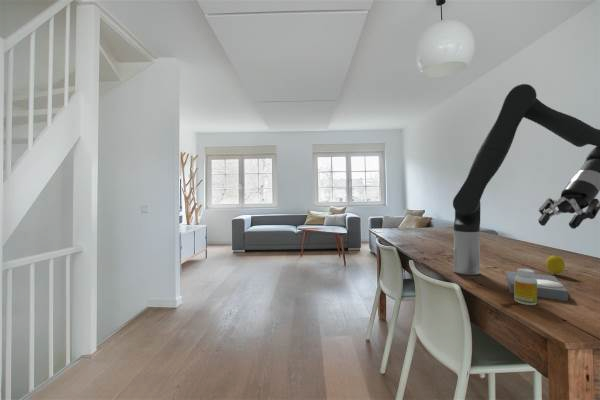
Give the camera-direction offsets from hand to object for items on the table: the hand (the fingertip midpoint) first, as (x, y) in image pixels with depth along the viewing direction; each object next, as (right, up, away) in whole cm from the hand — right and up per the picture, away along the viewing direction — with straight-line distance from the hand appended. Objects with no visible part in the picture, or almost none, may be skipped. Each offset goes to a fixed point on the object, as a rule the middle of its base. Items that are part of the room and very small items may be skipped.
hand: (555, 225), depth 89 cm
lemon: (+22, -22, +25) cm, 40 cm away
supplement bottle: (-11, -23, -2) cm, 26 cm away
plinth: (+1, -22, +9) cm, 24 cm away
